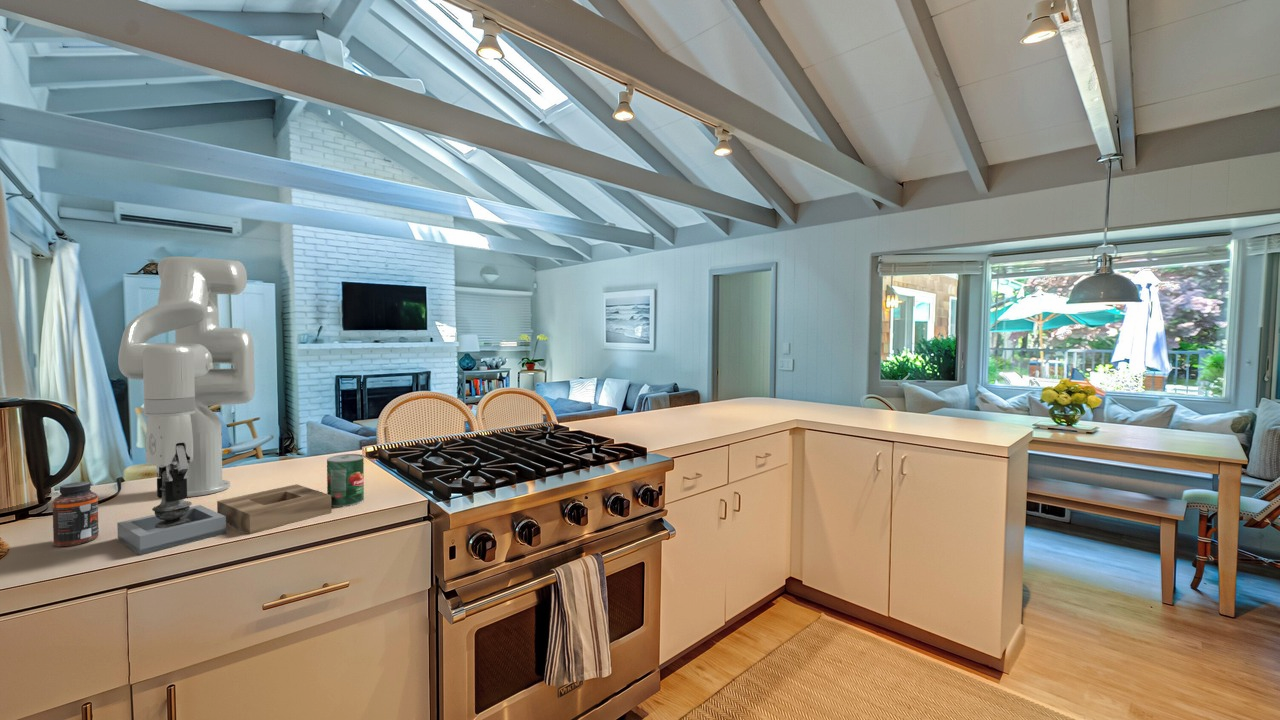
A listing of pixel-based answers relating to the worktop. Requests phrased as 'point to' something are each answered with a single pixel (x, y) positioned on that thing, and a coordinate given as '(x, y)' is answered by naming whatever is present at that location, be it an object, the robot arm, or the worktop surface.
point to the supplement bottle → (75, 515)
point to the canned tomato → (345, 479)
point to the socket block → (274, 508)
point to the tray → (170, 530)
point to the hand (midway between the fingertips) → (172, 497)
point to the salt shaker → (171, 509)
